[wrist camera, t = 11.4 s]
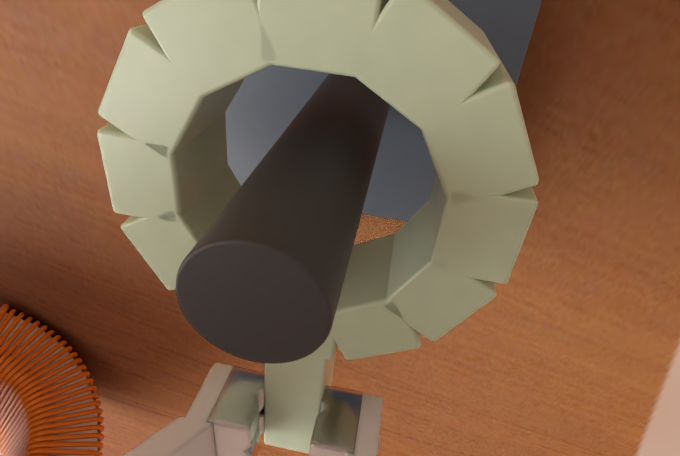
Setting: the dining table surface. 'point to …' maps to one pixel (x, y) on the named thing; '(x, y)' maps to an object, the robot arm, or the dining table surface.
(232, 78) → the tabbed ring on plate
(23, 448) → the coil
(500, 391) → the dining table surface
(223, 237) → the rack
